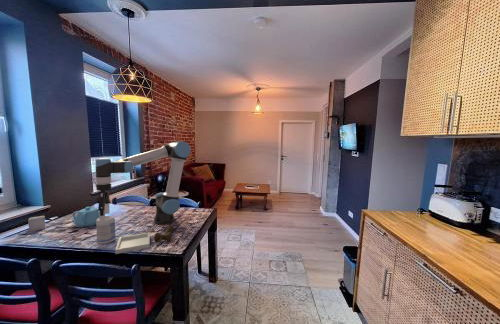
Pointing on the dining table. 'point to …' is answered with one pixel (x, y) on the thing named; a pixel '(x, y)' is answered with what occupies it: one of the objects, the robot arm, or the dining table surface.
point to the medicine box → (36, 223)
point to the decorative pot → (86, 217)
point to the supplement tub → (105, 230)
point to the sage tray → (133, 243)
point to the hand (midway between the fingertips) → (104, 217)
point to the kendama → (164, 235)
